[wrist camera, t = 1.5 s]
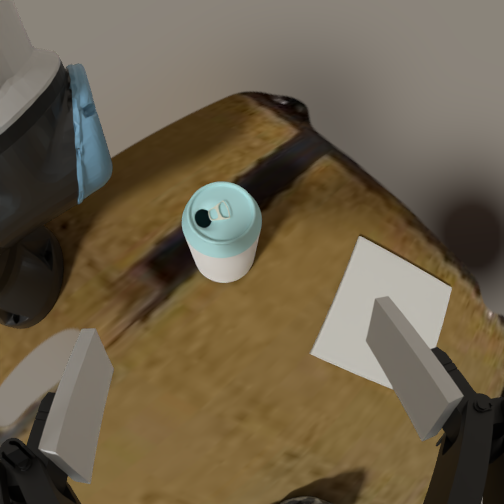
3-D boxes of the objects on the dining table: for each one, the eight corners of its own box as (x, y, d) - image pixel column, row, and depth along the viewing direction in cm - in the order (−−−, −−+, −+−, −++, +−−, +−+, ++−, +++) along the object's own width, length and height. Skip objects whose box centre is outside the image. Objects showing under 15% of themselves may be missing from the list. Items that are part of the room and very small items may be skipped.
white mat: (309, 353, 34) (310, 353, 33) (358, 237, 39) (359, 235, 38) (414, 397, 32) (417, 398, 32) (449, 288, 37) (451, 287, 37)
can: (233, 295, 35) (233, 268, 24) (183, 262, 36) (162, 222, 25) (265, 246, 37) (279, 200, 26) (216, 217, 38) (211, 162, 27)
